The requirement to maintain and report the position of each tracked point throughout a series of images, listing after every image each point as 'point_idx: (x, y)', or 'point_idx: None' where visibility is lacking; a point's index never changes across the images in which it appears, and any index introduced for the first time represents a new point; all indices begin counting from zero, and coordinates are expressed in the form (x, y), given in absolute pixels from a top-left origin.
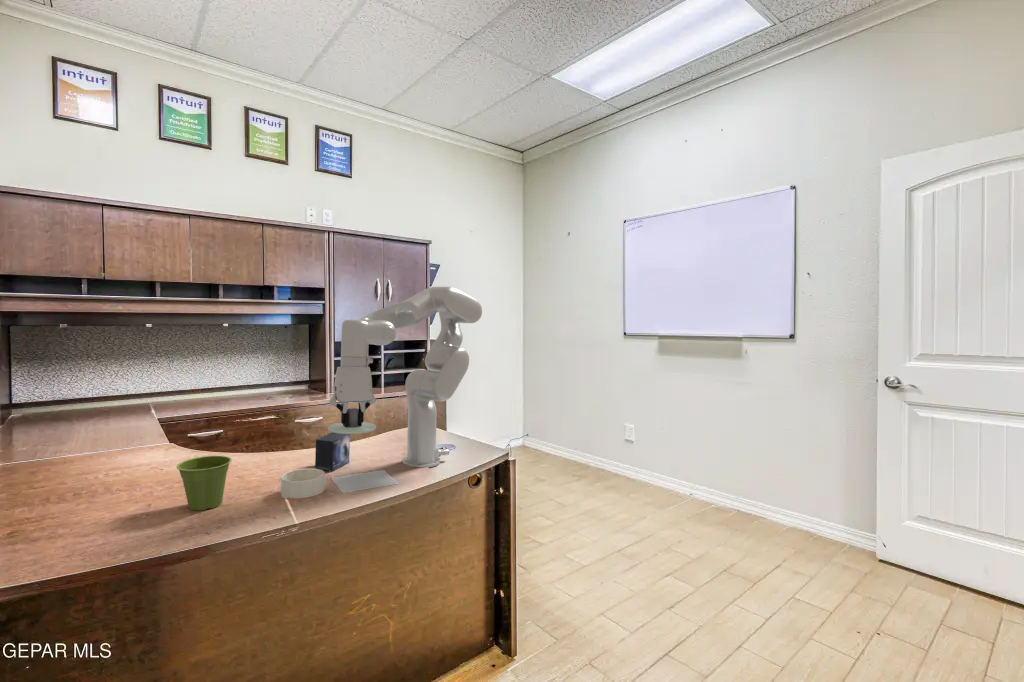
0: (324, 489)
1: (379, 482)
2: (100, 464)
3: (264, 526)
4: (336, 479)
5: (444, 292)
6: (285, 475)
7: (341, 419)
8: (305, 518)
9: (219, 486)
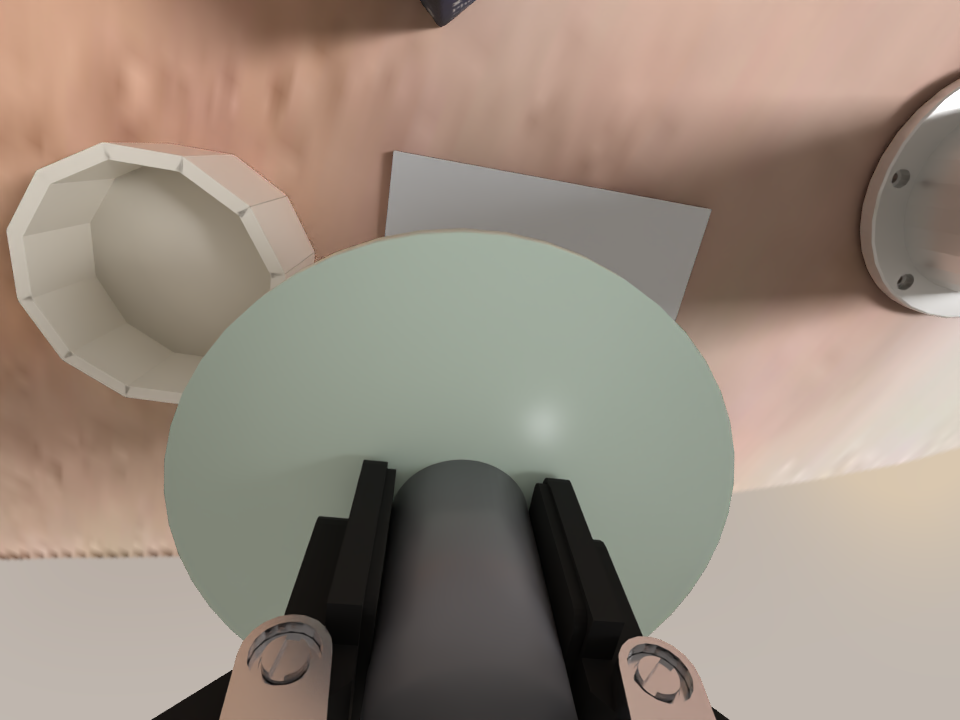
0: None
1: None
2: None
3: (18, 520)
4: (410, 202)
5: None
6: (45, 205)
7: (308, 547)
8: (170, 534)
9: None
